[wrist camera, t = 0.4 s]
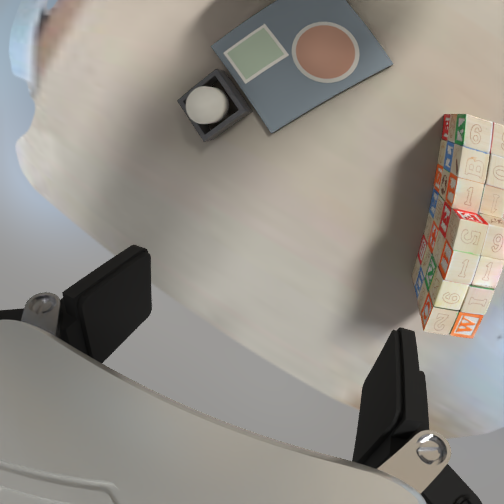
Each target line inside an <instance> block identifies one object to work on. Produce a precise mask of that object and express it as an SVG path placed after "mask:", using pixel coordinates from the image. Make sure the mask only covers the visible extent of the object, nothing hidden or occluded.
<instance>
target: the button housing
mask: <svg viewBox="0 0 504 504" xmlns="http://www.w3.org/2000/svg"><path fill="white" fill-rule="evenodd" d="M217 81H219V82H220V83H221V85H222V86H223V88H224V89H225V91H226V92H227V93H228V95H229V96H230V98H231V99H232V101H233V102H234V104H235V105H236V107H237V108H238V111H237V112H235V113H234V114H233V115H231V116H230V117H228V118H227V119H226V120H224V121H223V122H221V123H220V124H219V125H217V126H216V127H215V128H213V129H212V130H210V128H209V126H208V125H207V124H199V123H196V122H194V121H193V120H191V119H190V117H189V116H188V114H187V111H186V100H187V98H188V96H189V94H190V93H191V92H192V91H193V90H194V89H196V88H198V87H201V86H207V87H211V86H212V85H213V84H215V83H216V82H217ZM177 101H178V103H179V104H180V106H181V107H182V109H183V110H184V112H185V113H186V115H187V116H188V118H189V120H190V121H191V123H192V124H193V126H194V127H195V129H196V130H197V132H198V133H199V135H200V136H201V138H202V140H203V141H209V140H212V139H214V138H215V137H217V136H218V135H219V134H221V133H222V132H223V131H225V130H226V129H228V128H229V127H230V126H232V125H233V124H235V123H236V122H238V121H239V120H240V119H242V118H243V117H245V116H246V115H248V114H249V113H251V112H252V110H251V109H250V107H249V106H248V105H247V103H246V102H245V100H244V99H243V97H242V96H241V94H240V93H239V91H238V90H237V88H236V87H235V86H234V84H233V83H232V81H231V80H230V78H229V77H228V76H227V74H226V73H225V71H222V70H218V69H215V70H214V71H213V72H212V73H210V74H209V75H208V76H207V77H205V78H204V79H203V80H201V81H200V82H199V83H198V84H197V85H195V86H194V87H193V88H192V89H190V90H189V91H188V92H187V93H186V94H184V95H183V96H182V97H181V98H180V99H179V100H177Z"/></svg>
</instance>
